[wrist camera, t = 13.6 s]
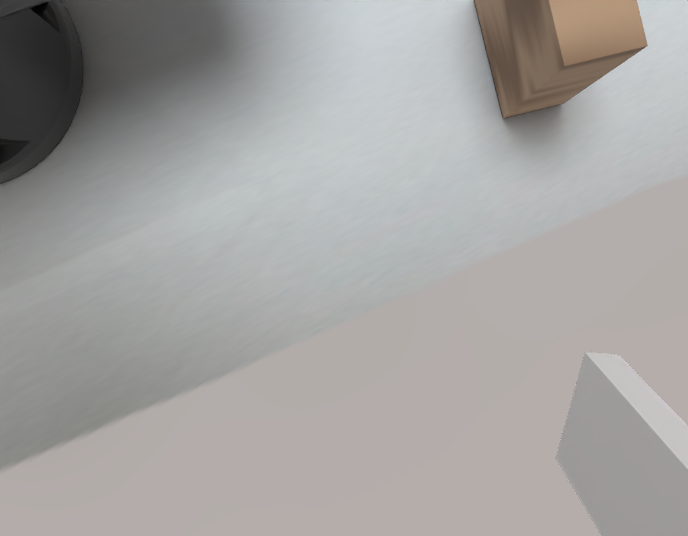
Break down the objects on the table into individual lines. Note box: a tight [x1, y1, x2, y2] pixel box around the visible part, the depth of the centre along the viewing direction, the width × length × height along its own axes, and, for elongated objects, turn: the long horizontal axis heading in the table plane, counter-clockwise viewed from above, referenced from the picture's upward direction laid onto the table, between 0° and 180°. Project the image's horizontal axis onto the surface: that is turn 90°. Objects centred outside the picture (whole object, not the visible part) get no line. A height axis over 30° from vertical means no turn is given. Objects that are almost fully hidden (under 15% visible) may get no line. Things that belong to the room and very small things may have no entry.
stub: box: [475, 0, 647, 118], centre depth 35 cm, size 8×4×11 cm, turn 14°
